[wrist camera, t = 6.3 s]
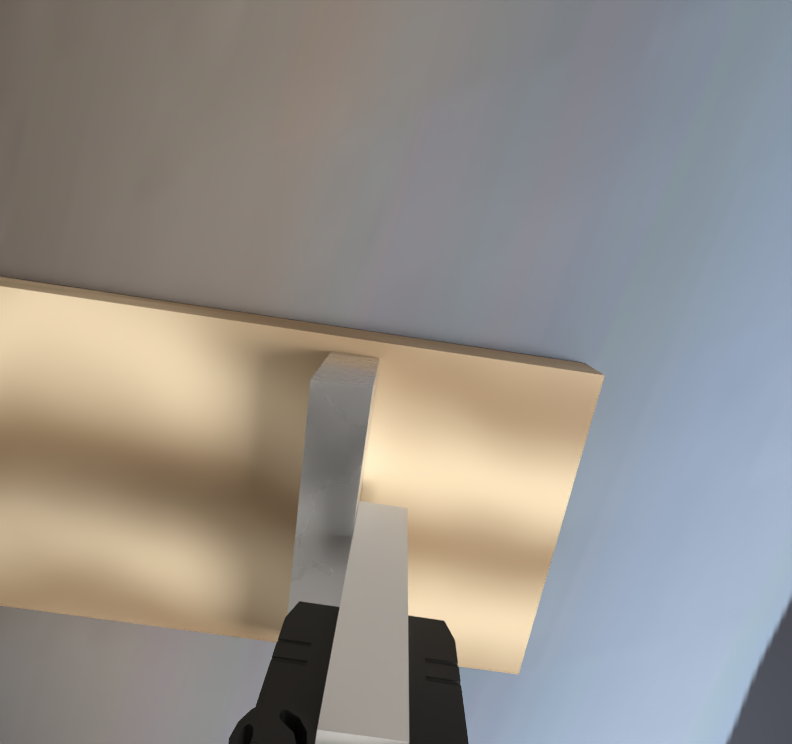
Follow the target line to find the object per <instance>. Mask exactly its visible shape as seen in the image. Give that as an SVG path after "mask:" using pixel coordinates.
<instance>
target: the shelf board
mask: <svg viewBox="0 0 792 744" xmlns="http://www.w3.org/2000/svg"><path fill="white" fill-rule="evenodd" d="M330 352H338V353H345V354H351V355H358V356H365V357H372V358H379V359H380V360H379V367H378V374H377V381H376V388H375V396H374V403H373V410H372V417H371V424H370V431H369V438H368V445H367V453H366V460H365V467H364V474H363V481H362V488H361V495H360V501H363V502H369V503H376V504H383V505H389V506H396V507H403V508H407V541H408V615H409V616H416V617H423V618H430V619H437V620H444V621H445V623H446V625H447V627H448V628H449V630H450V632H451V634H452V636H453V637H454V639H455V643H456V651H457V659H458V666H460V667H468V668H475V669H483V670H490V671H498V672H505V673H513V674H519V671H520V667H521V664H522V660H523V657H524V653H525V650H526V646H527V643H528V639H529V636H530V632H531V629H532V626H533V622H534V619H535V615H536V612H537V608H538V605H539V601H540V598H541V594H542V591H543V587H544V584H545V580H546V577H547V573H548V570H549V567H550V563H551V560H552V556H553V553H554V549H555V546H556V542H557V539H558V535H559V532H560V528H561V525H562V521H563V518H564V514H565V511H566V508H567V504H568V501H569V497H570V494H571V490H572V487H573V483H574V480H575V476H576V473H577V469H578V466H579V462H580V459H581V455H582V452H583V449H584V445H585V442H586V438H587V435H588V431H589V428H590V424H591V421H592V417H593V414H594V410H595V407H596V403H597V400H598V396H599V393H600V390H601V386H602V383H603V379H604V376H605V375H603V374H602V373H600V372H598V371H597V370H595V369H594V368H592V367H590V366H589V365H587V364H585V363H580V362H573V361H567V360H560V359H553V358H546V357H540V356H533V355H526V354H519V353H513V352H506V351H499V350H492V349H486V348H479V347H472V346H465V345H459V344H452V343H445V342H438V341H432V340H425V339H418V338H411V337H405V336H398V335H391V334H384V333H378V332H371V331H364V330H357V329H351V328H344V327H337V326H330V325H324V324H317V323H310V322H303V321H297V320H290V319H283V318H276V317H270V316H263V315H256V314H249V313H243V312H236V311H229V310H222V309H216V308H209V307H202V306H195V305H189V304H182V303H175V302H168V301H162V300H155V299H148V298H141V297H135V296H128V295H121V294H114V293H108V292H101V291H94V290H87V289H81V288H74V287H67V286H60V285H54V284H47V283H40V282H33V281H27V280H20V279H13V278H6V277H0V606H8V607H15V608H23V609H30V610H38V611H45V612H53V613H61V614H68V615H76V616H83V617H91V618H98V619H106V620H113V621H121V622H128V623H136V624H143V625H151V626H159V627H166V628H174V629H181V630H189V631H196V632H204V633H211V634H219V635H226V636H234V637H241V638H249V639H257V640H264V641H272V642H277V641H278V637H279V634H280V631H281V628H282V625H283V622H284V619H285V617H286V616H287V615H288V606H289V596H290V585H291V575H292V565H293V554H294V544H295V534H296V524H297V513H298V503H299V493H300V482H301V472H302V462H303V452H304V441H305V431H306V421H307V410H308V400H309V390H310V380H311V378H312V377H313V375H314V374H315V373H316V371H317V370H318V369H319V367H320V366H321V365H322V363H323V362H324V360H325V359H326V358H327V356H328V355H329V354H330Z"/></svg>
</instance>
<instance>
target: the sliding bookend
mask: <svg viewBox="0 0 792 744" xmlns="http://www.w3.org/2000/svg"><path fill="white" fill-rule="evenodd" d="M379 360H380V359H379V358H372V357H365V356H358V355H351V354H345V353H338V352H330V354H329V355H328V356H327V358H326V359H325V360H324V362H323V363H322V365H321V366H320V367H319V369H318V370H317V371H316V373H315V374H314V375H313V377H312V378H311V380H310V390H309V400H308V410H307V421H306V431H305V441H304V452H303V462H302V472H301V482H300V493H299V503H298V513H297V524H296V534H295V544H294V554H293V565H292V575H291V585H290V596H289V606H288V614H289V612H290V611H291V610H292V609H293V608H294V607H295V606H296V604H297V603H298V602H299V601H302V602H308V603H315V604H322V605H329V606H336V607H340V602H341V597H342V592H343V586H344V581H345V575H346V570H347V564H348V559H349V554H350V548H351V543H352V537H353V532H354V526H355V521H356V516H357V510H358V505H359V501H360V495H361V488H362V481H363V474H364V467H365V460H366V453H367V445H368V438H369V431H370V424H371V417H372V410H373V403H374V396H375V388H376V381H377V374H378V367H379Z"/></svg>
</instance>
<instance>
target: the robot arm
mask: <svg viewBox="0 0 792 744" xmlns="http://www.w3.org/2000/svg"><path fill="white" fill-rule="evenodd" d="M229 744H468V736H467V729H466V721H465V713H464V705H463V698H462V690H461V686H460V674H459V667H458V659H457V651H456V643H455V639H454V637H453V636H452V634H451V632H450V630H449V628H448V627H447V625H446V623H445V621H444V620H437V619H430V618H423V617H416V616H409V615H408V541H407V508H403V507H396V506H389V505H383V504H376V503H369V502H363V501H359V505H358V510H357V516H356V521H355V526H354V532H353V537H352V543H351V548H350V554H349V559H348V564H347V570H346V575H345V581H344V586H343V592H342V597H341V602H340V607H336V606H329V605H322V604H315V603H308V602H302V601H299V602H298V603H297V604H296V606H295V607H294V608H293V609H292V610H291V611H290V612H289V614H288V615H287V616H286V617H285V619H284V622H283V625H282V628H281V631H280V634H279V637H278V641H277V643H276V646H275V649H274V652H273V656H272V660H271V662H270V665H269V668H268V671H267V674H266V677H265V680H264V683H263V686H262V689H261V692H260V695H259V698H258V701H257V704H256V707H255V708H253V709H252V710H250V711H249V712H248V713H247V714H246V715H245V716H244V717H243V718H242V719H241V720H240V721H239V722H238V723H237V725H236V727H235V729H234V730H233V732H232V734H231V736H230V738H229Z"/></svg>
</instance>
